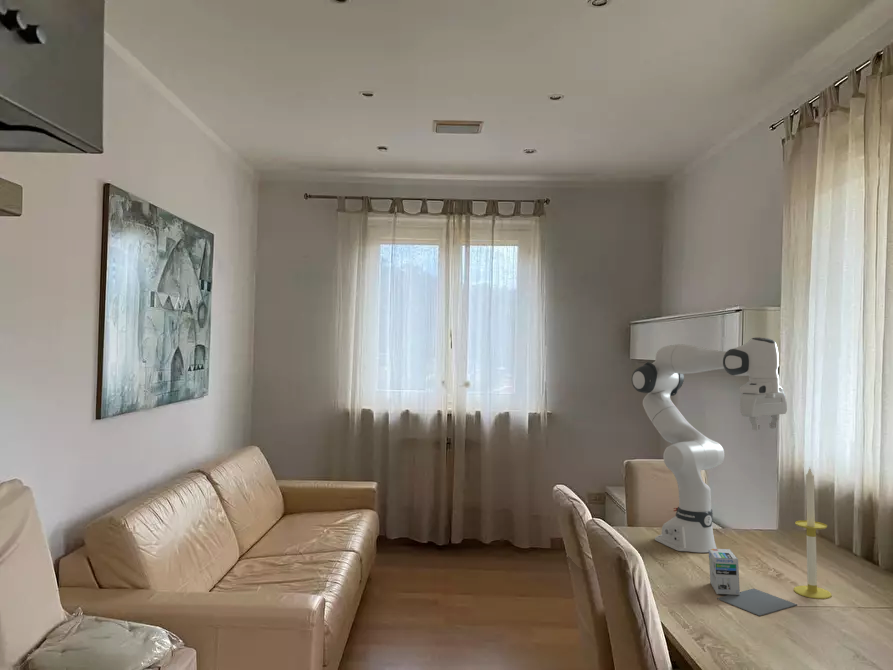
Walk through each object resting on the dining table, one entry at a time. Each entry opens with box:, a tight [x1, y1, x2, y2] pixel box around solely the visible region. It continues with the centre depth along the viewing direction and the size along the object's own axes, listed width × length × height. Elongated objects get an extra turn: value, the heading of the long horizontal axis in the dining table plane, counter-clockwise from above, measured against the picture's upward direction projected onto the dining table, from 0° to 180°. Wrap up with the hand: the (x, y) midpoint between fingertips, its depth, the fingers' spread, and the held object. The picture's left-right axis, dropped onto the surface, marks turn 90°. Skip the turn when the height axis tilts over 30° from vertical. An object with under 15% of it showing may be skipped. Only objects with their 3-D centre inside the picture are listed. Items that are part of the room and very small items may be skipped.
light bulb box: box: [708, 548, 741, 595], centre depth 196 cm, size 11×7×11 cm, turn 168°
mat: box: [716, 587, 798, 617], centre depth 186 cm, size 14×16×1 cm
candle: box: [793, 468, 833, 600], centre depth 194 cm, size 10×10×38 cm
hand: (764, 429), depth 211 cm, fingers open, 8 cm apart
